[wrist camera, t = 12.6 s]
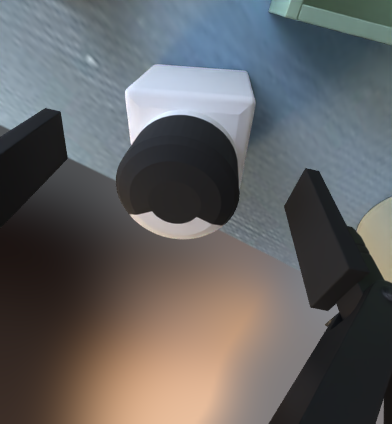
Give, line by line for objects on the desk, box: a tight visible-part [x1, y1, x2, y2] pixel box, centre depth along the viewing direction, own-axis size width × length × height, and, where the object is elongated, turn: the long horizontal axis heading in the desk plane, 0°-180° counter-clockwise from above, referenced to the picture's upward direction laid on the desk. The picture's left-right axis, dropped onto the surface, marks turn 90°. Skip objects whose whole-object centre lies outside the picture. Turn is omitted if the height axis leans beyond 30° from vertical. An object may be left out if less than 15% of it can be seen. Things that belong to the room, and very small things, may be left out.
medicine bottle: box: [116, 64, 256, 239], centre depth 17 cm, size 7×7×12 cm
